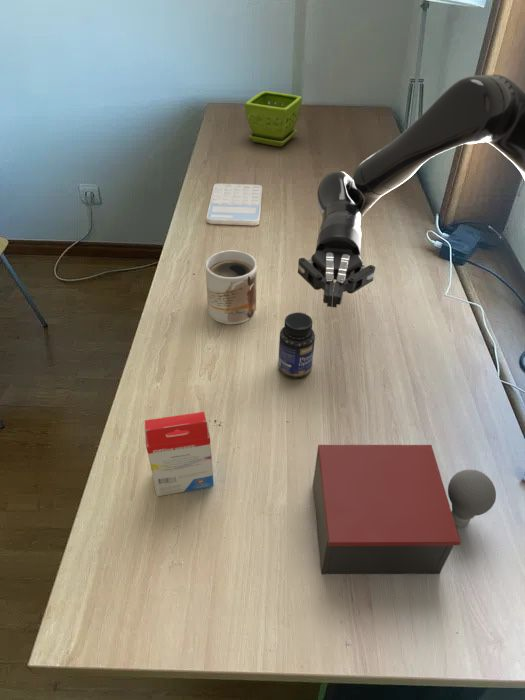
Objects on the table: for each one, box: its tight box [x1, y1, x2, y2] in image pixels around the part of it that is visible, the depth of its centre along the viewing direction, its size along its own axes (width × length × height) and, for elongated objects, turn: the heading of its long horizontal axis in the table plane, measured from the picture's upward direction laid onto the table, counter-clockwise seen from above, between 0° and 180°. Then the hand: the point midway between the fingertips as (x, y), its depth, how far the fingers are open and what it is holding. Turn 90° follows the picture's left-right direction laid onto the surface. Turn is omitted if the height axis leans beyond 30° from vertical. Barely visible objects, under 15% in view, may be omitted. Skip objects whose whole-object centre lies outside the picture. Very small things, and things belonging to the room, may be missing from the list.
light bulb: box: [447, 468, 497, 528], centre depth 76 cm, size 6×6×10 cm
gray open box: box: [312, 450, 454, 575], centre depth 75 cm, size 14×16×9 cm
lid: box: [317, 444, 461, 547], centre depth 72 cm, size 14×16×1 cm
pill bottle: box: [277, 312, 316, 380], centre depth 98 cm, size 6×6×11 cm
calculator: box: [205, 183, 263, 226], centre depth 146 cm, size 13×20×2 cm, turn 178°
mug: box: [204, 249, 258, 325], centre depth 111 cm, size 10×12×11 cm
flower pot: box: [244, 90, 303, 148], centre depth 177 cm, size 14×14×13 cm
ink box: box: [144, 411, 215, 497], centre depth 79 cm, size 8×5×15 cm, turn 102°
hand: (332, 302), depth 85 cm, fingers closed
